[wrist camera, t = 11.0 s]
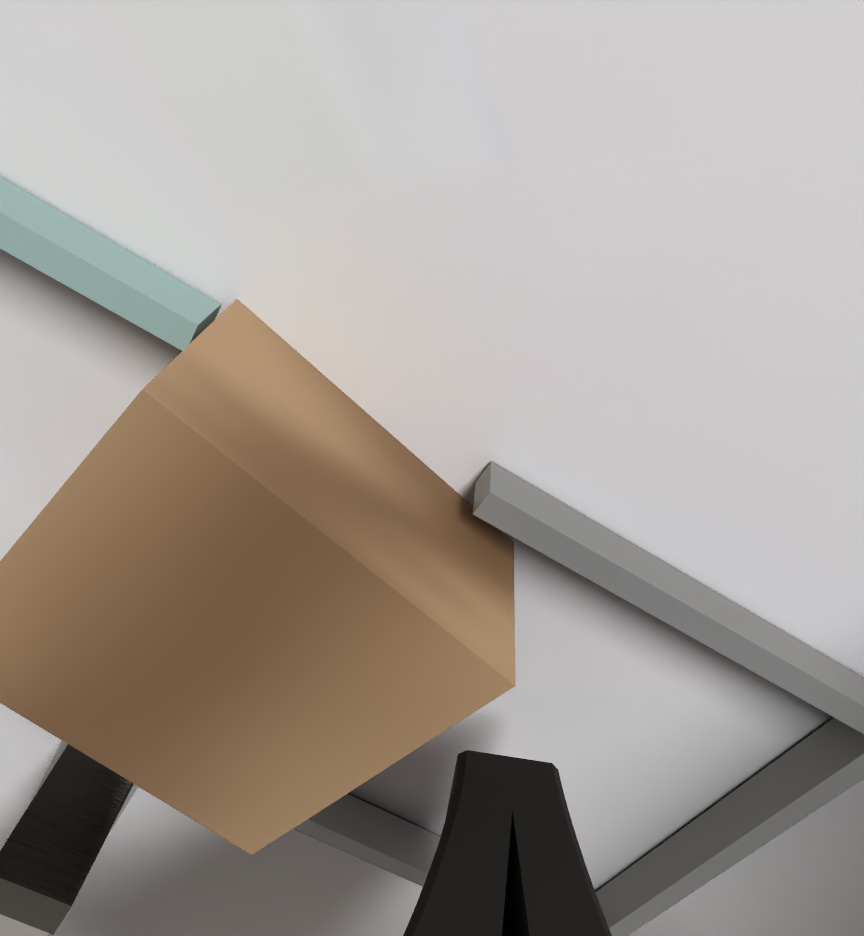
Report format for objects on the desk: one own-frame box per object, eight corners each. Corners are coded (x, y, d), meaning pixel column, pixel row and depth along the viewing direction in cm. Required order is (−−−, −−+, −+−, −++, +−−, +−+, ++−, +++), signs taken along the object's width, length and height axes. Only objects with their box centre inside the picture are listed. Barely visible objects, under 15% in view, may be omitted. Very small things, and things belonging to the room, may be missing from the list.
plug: (513, 532, 11) (515, 686, 8) (303, 692, 13) (252, 855, 10) (242, 293, 9) (143, 389, 7) (54, 516, 11) (-78, 655, 9)
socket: (896, 697, 11) (921, 739, 11) (355, 1083, 20) (349, 1120, 19) (271, 333, 9) (252, 356, 9) (-36, 935, 18) (-58, 971, 17)
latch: (144, 764, 13) (71, 906, 11) (16, 968, 17) (-54, 1099, 15) (74, 733, 13) (-14, 872, 11) (-37, 948, 17) (-116, 1079, 15)
